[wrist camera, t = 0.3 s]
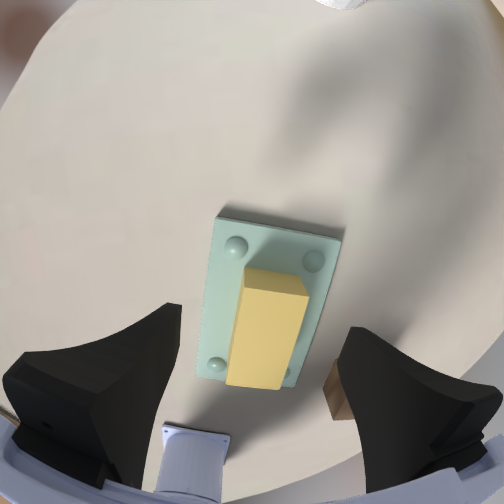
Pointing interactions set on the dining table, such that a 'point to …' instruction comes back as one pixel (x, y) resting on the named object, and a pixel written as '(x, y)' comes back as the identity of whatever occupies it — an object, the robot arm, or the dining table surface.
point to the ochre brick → (265, 328)
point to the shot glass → (342, 3)
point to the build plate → (265, 258)
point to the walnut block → (337, 396)
